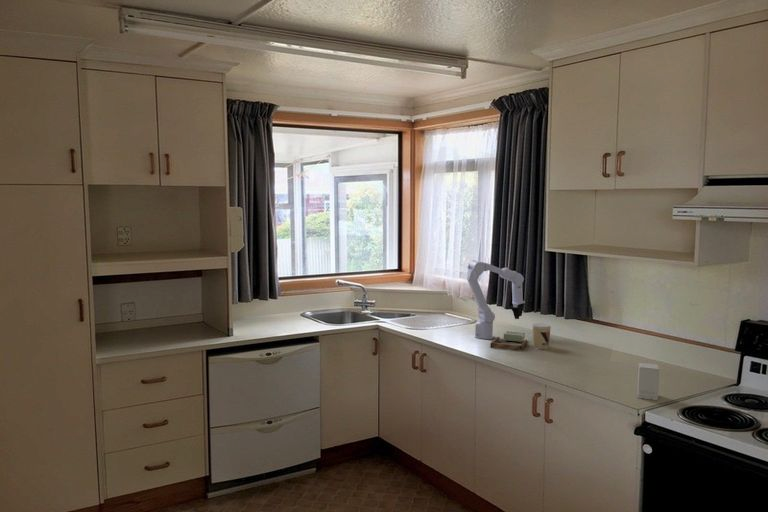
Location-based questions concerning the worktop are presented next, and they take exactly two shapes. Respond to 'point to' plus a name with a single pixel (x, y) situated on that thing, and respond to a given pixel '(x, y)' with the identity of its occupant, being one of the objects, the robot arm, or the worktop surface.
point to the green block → (514, 336)
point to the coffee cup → (541, 335)
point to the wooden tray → (507, 345)
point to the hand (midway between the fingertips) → (518, 317)
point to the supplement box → (648, 381)
